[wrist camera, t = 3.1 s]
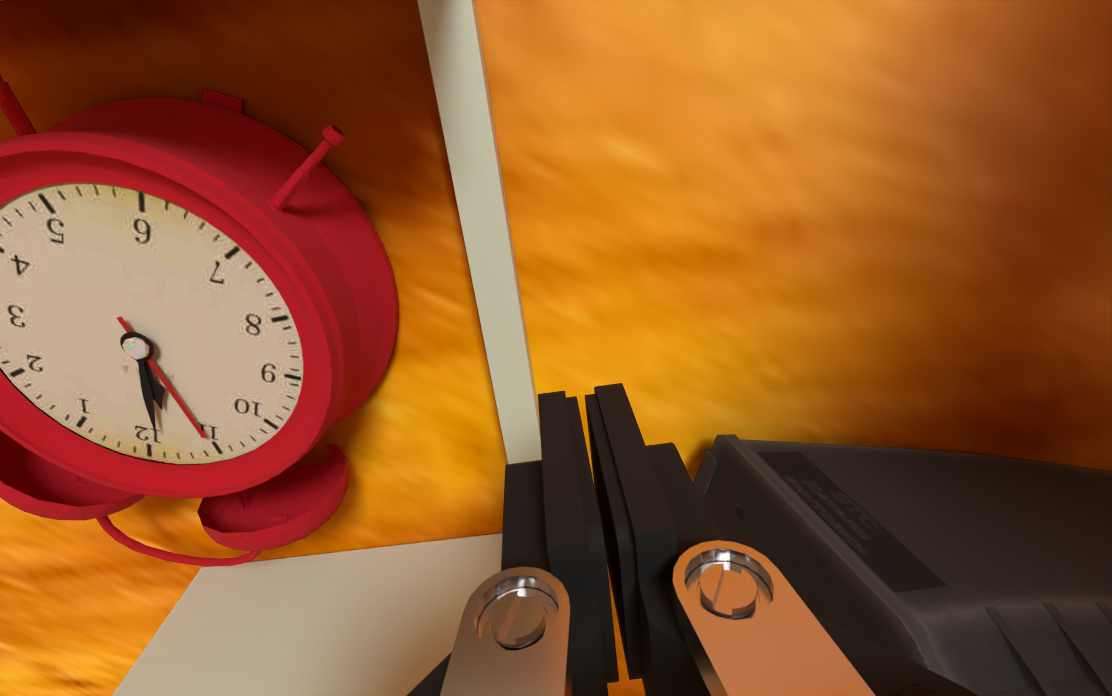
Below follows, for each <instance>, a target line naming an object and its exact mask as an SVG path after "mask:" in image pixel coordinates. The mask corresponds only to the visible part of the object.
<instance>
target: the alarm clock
mask: <svg viewBox="0 0 1112 696" xmlns="http://www.w3.org/2000/svg"><path fill="white" fill-rule="evenodd" d="M242 101H245V100H243V99H239V98H236V97H233V96H229V95H226V94H223V93H220V92H216V91H213V90H209V89H206V88H202V102H198V101H192V100H185V99H174V98H137V99H125V100H118V101H112V102H108V103H104V104H100V105H97V106H94V107H91V108H88V109H85V110H83V111H81V112H79V113H76V114H74V115H72V116H71V117H69V118H67V119H65V120H64V121H62V122H60V123H59V124H58V125H56V126H55V127H54V128H52V129H51V130H50V131H49V132H45V133H37V132H36V131H35V129H34V127H33V126H32V124H31V122H30V120H29V119H28V117H27V115H26V114H25V112H24V110H23V109H22V107H21V105H20V103H19V102H18V100H17V98H16V97H15V95H14V93H13V92H12V90H11V88H10V86H9V85H8V83H7V82H5V81H4V80H3V79H2V77H1V75H0V106H1V108H2V110H3V111H4V113H5V115H6V116H7V118H8V119H9V121H10V123H11V124H12V126H13V128H14V129H15V131H16V133H17V134H18V136H19V137H16V138H12V139H9V140H5V141H2V142H0V498H2V499H3V500H5V501H6V502H7V503H9V504H10V505H12V506H14V507H16V508H18V509H20V510H22V511H24V512H27V513H30V514H33V515H37V516H40V517H45V518H51V519H56V520H89V519H93V518H96V519H97V520H98V522H99V524H100V525H101V527H102V528H103V529H104V530H105V531H106V532H107V533H108V534H109V535H110V536H111V537H112V538H113V539H115V540H116V541H118V542H119V543H121V544H123V545H125V546H127V547H128V548H130V549H132V550H134V551H137V552H140V553H143V554H146V555H149V556H153V557H156V558H160V559H163V560H166V561H172V562H178V563H184V564H191V565H198V566H233V565H239V564H243V563H246V562H248V561H251V560H253V559H254V558H255V557H257V556H258V555H259V554H260V553H261V552H262V551H263V550H268V549H273V548H277V547H281V546H285V545H287V544H290V543H292V542H295V541H297V540H300V539H302V538H305V537H306V536H308V535H309V534H311V533H312V532H314V531H315V530H317V529H318V528H319V527H321V526H322V525H323V524H324V523H325V522H327V521H328V520H329V519H330V518H331V517H332V516H333V514H334V513H335V512H336V511H337V510H338V508H339V506H340V504H341V503H342V501H343V499H344V496H345V493H346V491H347V488H348V484H349V469H348V465H347V460H346V456H345V455H344V454H343V453H342V452H341V451H340V449H339V448H338V447H336V446H332V445H329V444H327V445H328V447H329V449H330V458H329V460H328V461H326V462H324V463H322V464H320V465H318V466H313V467H308V468H304V467H294V466H292V465H293V464H295V463H296V462H298V461H299V460H300V459H301V458H303V457H304V456H305V455H306V454H307V453H308V452H309V451H311V449H312V448H313V447H314V446H315V445H316V444H317V443H318V441H319V440H320V439H321V438H322V437H323V435H324V434H325V432H326V431H327V429H328V428H329V427H331V426H333V425H334V424H336V423H338V422H340V421H341V420H342V419H344V418H345V417H347V416H348V415H350V414H351V413H352V412H353V411H354V410H356V409H357V408H358V407H359V406H360V405H361V404H362V403H363V402H364V401H365V400H366V398H367V397H368V396H369V395H370V393H371V392H372V391H373V390H374V388H375V386H376V385H377V383H378V382H379V380H380V378H381V376H382V374H383V373H384V371H385V369H386V367H387V365H388V362H389V360H390V357H391V355H392V352H393V348H394V344H395V340H396V335H397V328H398V297H397V290H396V284H395V280H394V275H393V271H392V267H391V264H390V261H389V259H388V256H387V253H386V251H385V248H384V245H383V243H382V241H381V239H380V237H379V235H378V233H377V231H376V229H375V227H374V225H373V224H372V222H371V220H370V219H369V217H368V216H367V214H366V213H365V211H364V210H363V208H362V207H361V205H360V204H359V202H358V201H357V200H356V199H355V197H354V196H353V195H352V194H351V192H350V191H349V190H348V189H347V188H346V186H345V185H344V184H343V183H342V182H341V181H340V180H339V179H338V178H337V177H336V176H335V175H334V174H333V173H332V172H331V171H330V170H329V169H328V168H327V167H326V166H325V165H324V164H322V163H321V162H320V161H321V160H322V159H323V158H324V156H325V155H326V154H327V153H328V151H329V150H330V149H331V148H332V147H333V146H336V147H340V146H341V145H342V144H343V143H344V142H345V135H344V133H343V132H342V131H341V130H340V129H339V128H337V127H336V126H334V125H330V126H326V127H325V129H324V130H323V131H322V134H323V136H324V140H323V141H322V142H321V144H320V145H319V146H318V147H317V148H316V149H315V150H314V151H313V153H312V154H310V153H309V152H308V151H306V150H305V149H304V148H303V147H301V146H300V145H299V144H297V143H296V142H294V141H293V140H291V139H289V138H288V137H286V136H285V135H283V134H281V133H280V132H278V131H276V130H274V129H273V128H271V127H269V126H267V125H265V124H263V123H261V122H259V121H257V120H255V119H252V118H250V117H248V116H245V115H243V114H242ZM145 495H149V496H158V497H167V498H176V499H181V498H203V499H202V502H201V504H200V507H199V509H198V511H197V512H198V514H199V517H200V520H201V523H202V525H203V528H204V530H205V531H206V532H207V534H208V535H209V536H210V537H211V538H212V539H213V540H214V541H215V542H216V543H219V544H221V545H223V546H226V547H229V548H232V549H236V550H241V551H251V552H250V553H248V554H245V555H243V556H240V557H235V558H224V559H221V558H200V557H193V556H187V555H181V554H175V553H171V552H167V551H163V550H160V549H156V548H152V547H149V546H146V545H144V544H142V543H140V542H138V541H135V540H133V539H131V538H129V537H128V536H126V535H125V534H124V533H122V532H121V531H120V530H119V529H117V528H116V527H115V526H114V525H113V524H112V523H111V521H110V519H109V518H108V516H107V515H110V514H113V513H116V512H118V511H121V510H123V509H125V508H128V507H129V506H131V505H133V504H134V503H136V502H138V501H139V500H141V499H142V498H143V497H144V496H145Z"/></svg>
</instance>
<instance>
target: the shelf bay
mask: <svg viewBox="0 0 1112 696" xmlns="http://www.w3.org/2000/svg"><path fill="white" fill-rule="evenodd" d="M0 1H3V0H0ZM417 1H418V6H419V11H420V16H421V22H422V27H423V32H424V37H425V42H426V47H427V52H428V57H429V62H430V67H431V73H432V78H433V83H434V88H435V93H436V98H437V103H438V108H439V113H440V118H441V124H442V129H443V134H444V139H445V144H446V149H447V154H448V159H449V164H450V169H451V175H452V180H453V185H454V190H455V195H456V200H457V205H458V210H459V215H460V221H461V226H462V231H463V236H464V241H465V246H466V251H467V256H468V261H469V266H470V272H471V277H472V282H473V287H474V292H475V297H476V302H477V307H478V312H479V317H480V323H481V328H482V333H483V338H484V343H485V348H486V353H487V358H488V363H489V369H490V374H491V379H492V384H493V389H494V394H495V399H496V404H497V409H498V414H499V420H500V425H501V430H502V435H503V440H504V445H505V450H506V455H507V460H508V464H514V463H521V462H529V461H536V460H542V455H541V438H540V421H539V412H538V405H537V399H536V392H535V386H534V379H533V373H532V366H531V360H530V353H529V347H528V340H527V334H526V328H525V321H524V315H523V308H522V302H521V295H520V289H519V282H518V276H517V269H516V263H515V256H514V250H513V243H512V237H511V231H510V224H509V218H508V211H507V205H506V198H505V192H504V185H503V179H502V172H501V166H500V159H499V153H498V147H497V140H496V134H495V127H494V121H493V114H492V108H491V101H490V95H489V88H488V82H487V75H486V69H485V63H484V56H483V50H482V43H481V37H480V30H479V24H478V17H477V11H476V4H475V0H417ZM501 556H502V533H500V534H491V535H483V536H474V537H465V538H457V539H448V540H439V541H430V542H422V543H413V544H404V545H396V546H387V547H378V548H370V549H361V550H352V551H343V552H335V553H326V554H317V555H309V556H300V557H291V558H282V559H274V560H265V561H256V562H248V563H243V564H239V565H233V566H213V567H204V568H201V569H200V571H199V572H198V574H197V575H196V576H195V578H194V579H193V581H192V582H191V584H190V585H189V586H188V588H187V589H186V591H185V592H184V593H183V595H182V596H181V598H180V599H179V601H178V602H177V603H176V605H175V606H174V608H173V609H172V611H171V612H170V613H169V615H168V616H167V618H166V619H165V621H164V622H163V623H162V625H161V626H160V628H159V629H158V631H157V632H156V633H155V635H154V636H153V638H152V639H151V640H150V642H149V643H148V645H147V646H146V648H145V649H144V650H143V652H142V653H141V655H140V656H139V658H138V659H137V660H136V662H135V663H134V665H133V666H132V668H131V669H130V670H129V672H128V673H127V675H126V676H125V678H124V679H123V680H122V682H121V683H120V685H119V686H118V687H117V689H116V690H115V692H114V693H113V695H112V696H406V695H407V694H408V693H410V692H411V691H412V690H413V689H414V688H415V687H416V686H417V685H418V684H419V683H420V682H421V681H422V680H423V679H424V678H425V677H426V676H427V675H428V674H429V673H430V672H431V671H432V670H433V669H434V668H435V667H436V666H437V665H438V664H439V663H441V662H442V661H443V660H444V659H445V658H446V657H447V656H448V655H449V654H450V653H451V652H452V650H453V647H454V643H455V640H456V636H457V633H458V629H459V625H460V622H461V618H462V615H463V611H464V609H465V606H466V604H467V602H468V600H469V598H470V596H471V595H472V593H473V592H474V591H475V590H476V589H477V588H478V586H479V585H480V584H481V583H483V582H484V581H485V580H487V579H488V578H490V577H491V576H492V575H494V574H496V573H499V572H501Z"/></svg>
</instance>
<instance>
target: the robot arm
mask: <svg viewBox="0 0 1112 696" xmlns="http://www.w3.org/2000/svg"><path fill="white" fill-rule="evenodd" d="M594 392H595V394H590V395H585V403H586V412H587V422H588V431H589V440H590V450H591V459H592V468H593V478H594V483H593V478H592V473H591V468H590V463H589V458H588V452H587V447H586V442H585V437H584V432H583V427H582V422H581V417H580V412H579V406H578V401H577V397H576V396H575V397H568V398H566V395H565V391H558V392H551V393H543V394H538V405H539V421H540V438H541V455H542V460H536V461H529V462H521V463H514V464H507V465H506V469H505V489H504V511H503V533H502V556H501V572H499V573H496V574H494V575H492V576H491V577H490V578H488V579H487V580H485V581H484V582H483V583H481V584H480V585H479V586H478V588H477V589H476V590H475V591H474V592H473V593H472V595H471V596H470V598H469V600H468V602H467V604H466V606H465V609H464V611H463V615H462V618H461V622H460V625H459V629H458V633H457V636H456V640H455V643H454V647H453V650H452V652H451V653H450V654H449V655H448V656H447V657H446V658H445V659H444V660H443V661H442V662H441V663H439V664H438V665H437V666H436V667H435V668H434V669H433V670H432V671H431V672H430V673H429V674H428V675H427V676H426V677H425V678H424V679H423V680H422V681H421V682H420V683H419V684H418V685H417V686H416V687H415V688H414V689H413V690H412V691H411V692H410V693H408V694H407V695H406V696H608V689H607V683H611V682H618V681H619V676H618V666H617V656H616V647H615V637H614V627H613V617H612V608H611V598H610V588H609V578H608V570H609V576H610V581H611V586H612V591H613V597H614V602H615V607H616V612H617V618H618V623H619V628H620V633H621V639H622V644H623V649H624V654H625V659H626V665H627V670H628V675H629V679H630V680H633V679H640V678H642V680H643V685H644V690H645V694H646V696H978V695H976V694H975V693H973V692H972V691H970V690H968V689H967V688H965V687H963V686H961V685H959V684H957V683H955V682H953V681H951V680H949V679H947V678H945V677H943V676H941V675H939V674H937V673H935V672H933V671H931V670H929V669H927V668H925V667H923V666H921V665H919V664H917V663H915V662H912V661H910V660H908V659H906V658H904V657H902V656H900V655H898V654H896V653H894V652H892V651H890V650H888V649H886V648H884V647H882V646H880V645H878V644H876V643H874V642H872V641H870V640H868V639H866V638H864V637H862V636H860V635H858V634H856V633H854V632H852V631H850V630H848V629H846V628H844V627H842V626H840V625H838V624H836V623H834V622H832V621H829V620H827V619H825V618H823V617H821V616H819V615H817V614H815V613H813V612H811V611H810V610H809V608H808V607H807V606H806V605H805V603H804V602H803V601H802V599H801V598H800V597H799V595H798V594H797V593H796V592H795V590H794V589H793V588H792V586H791V585H790V584H789V582H788V581H787V580H786V579H785V577H784V576H783V575H782V573H781V572H780V571H779V569H778V568H777V567H776V566H775V565H774V564H773V563H772V562H771V561H770V560H769V559H768V558H767V557H766V556H764V555H763V554H761V553H759V552H758V551H756V550H754V549H753V548H751V547H748V546H745V545H742V544H739V543H736V542H729V541H720V540H719V539H718V536H717V534H716V532H715V530H714V528H713V526H712V523H711V521H710V519H709V517H708V515H707V513H706V511H705V508H704V506H703V504H702V502H701V500H700V498H699V495H698V493H697V491H696V489H695V487H694V485H693V483H692V480H691V478H690V476H689V474H688V472H687V470H686V467H685V465H684V463H683V461H682V459H681V457H680V455H679V452H678V450H677V448H676V447H675V445H674V444H673V443H672V442H671V443H664V444H656V445H649V446H645V443H644V440H643V438H642V435H641V432H640V430H639V427H638V424H637V422H636V419H635V416H634V413H633V411H632V408H631V405H630V403H629V400H628V397H627V395H626V392H625V389H624V387H623V384H622V383H619V384H611V385H604V386H596V387H595V388H594ZM594 487H595V488H594ZM607 565H608V569H607Z"/></svg>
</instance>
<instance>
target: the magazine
mask: <svg viewBox="0 0 1112 696" xmlns="http://www.w3.org/2000/svg"><path fill="white" fill-rule="evenodd" d="M693 485H694V487H695V489H696V491H697V493H698V495H699V498H700V500H701V502H702V504H703V506H704V508H705V511H706V513H707V515H708V517H709V519H710V521H711V523H712V526H713V528H714V530H715V532H716V534H717V536H718V539H719V540H720V541H729V542H736V543H739V544H742V545H745V546H748V547H751V548H753V549H754V550H756V551H758V552H759V553H761V554H763V555H764V556H766V557H767V558H768V559H769V560H770V561H771V562H772V563H773V564H774V565H775V566H776V567H777V568H778V569H779V571H780V572H781V573H782V575H783V576H784V577H785V579H786V580H787V581H788V582H789V584H790V585H791V586H792V588H793V589H794V590H795V592H796V593H797V594H798V595H799V597H800V598H801V599H802V601H803V602H804V603H805V605H806V606H807V607H808V608H809V610H810V611H811V612H813V613H815V614H817V615H819V616H821V617H823V618H825V619H827V620H829V621H832V622H834V623H836V624H838V625H840V626H842V627H844V628H846V629H848V630H850V631H852V632H854V633H856V634H858V635H860V636H862V637H864V638H866V639H868V640H870V641H872V642H874V643H876V644H878V645H880V646H882V647H884V648H886V649H888V650H890V651H892V652H894V653H896V654H898V655H900V656H902V657H904V658H906V659H908V660H910V661H912V662H915V663H917V664H919V665H921V666H923V667H925V668H927V669H929V670H931V671H933V672H935V673H937V674H939V675H941V676H943V677H945V678H947V679H949V680H951V681H953V682H955V683H957V684H959V685H961V686H963V687H965V688H967V689H968V690H970V691H972V692H973V693H975V694H976V695H978V696H1112V472H1107V471H1101V470H1094V469H1087V468H1081V467H1074V466H1067V465H1060V464H1053V463H1045V462H1038V461H1030V460H1022V459H1015V458H1007V457H997V456H987V455H978V454H968V453H957V452H945V451H933V450H921V449H909V448H890V447H872V446H853V445H834V444H816V443H797V442H778V441H759V440H741V439H739V438H738V437H737V436H736V435H735V434H729V435H717V436H716V439H715V441H714V444H713V446H712V449H710V450H706V451H705V454H704V456H703V459H702V462H701V464H700V467H699V469H698V472H697V475H696V477H695V480H694V482H693Z"/></svg>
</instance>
